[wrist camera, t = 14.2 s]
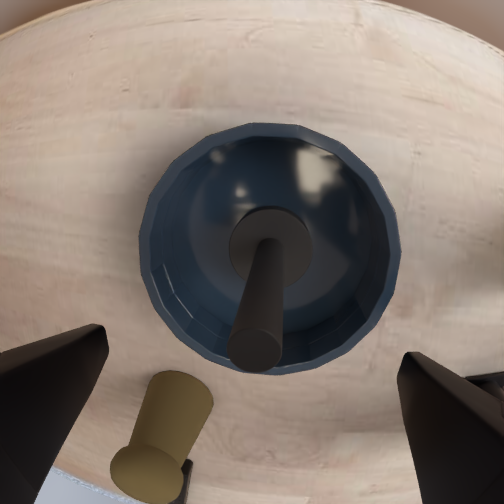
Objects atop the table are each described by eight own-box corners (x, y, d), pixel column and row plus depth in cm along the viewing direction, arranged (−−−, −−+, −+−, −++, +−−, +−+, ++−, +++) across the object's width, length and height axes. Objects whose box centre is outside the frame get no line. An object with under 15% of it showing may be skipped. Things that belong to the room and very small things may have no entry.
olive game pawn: (146, 363, 25) (88, 456, 14) (215, 378, 24) (180, 487, 14) (151, 410, 26) (107, 497, 16) (212, 425, 26) (184, 521, 16)
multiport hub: (193, 460, 28) (188, 476, 26) (185, 507, 33) (181, 519, 30) (154, 449, 28) (148, 464, 26) (155, 498, 33) (151, 510, 30)
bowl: (387, 143, 18) (413, 139, 14) (359, 342, 22) (372, 378, 18) (167, 131, 19) (138, 125, 15) (171, 327, 23) (149, 359, 19)
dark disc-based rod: (314, 208, 19) (356, 276, 8) (306, 284, 21) (324, 416, 9) (234, 202, 20) (165, 261, 8) (231, 278, 21) (176, 401, 10)
